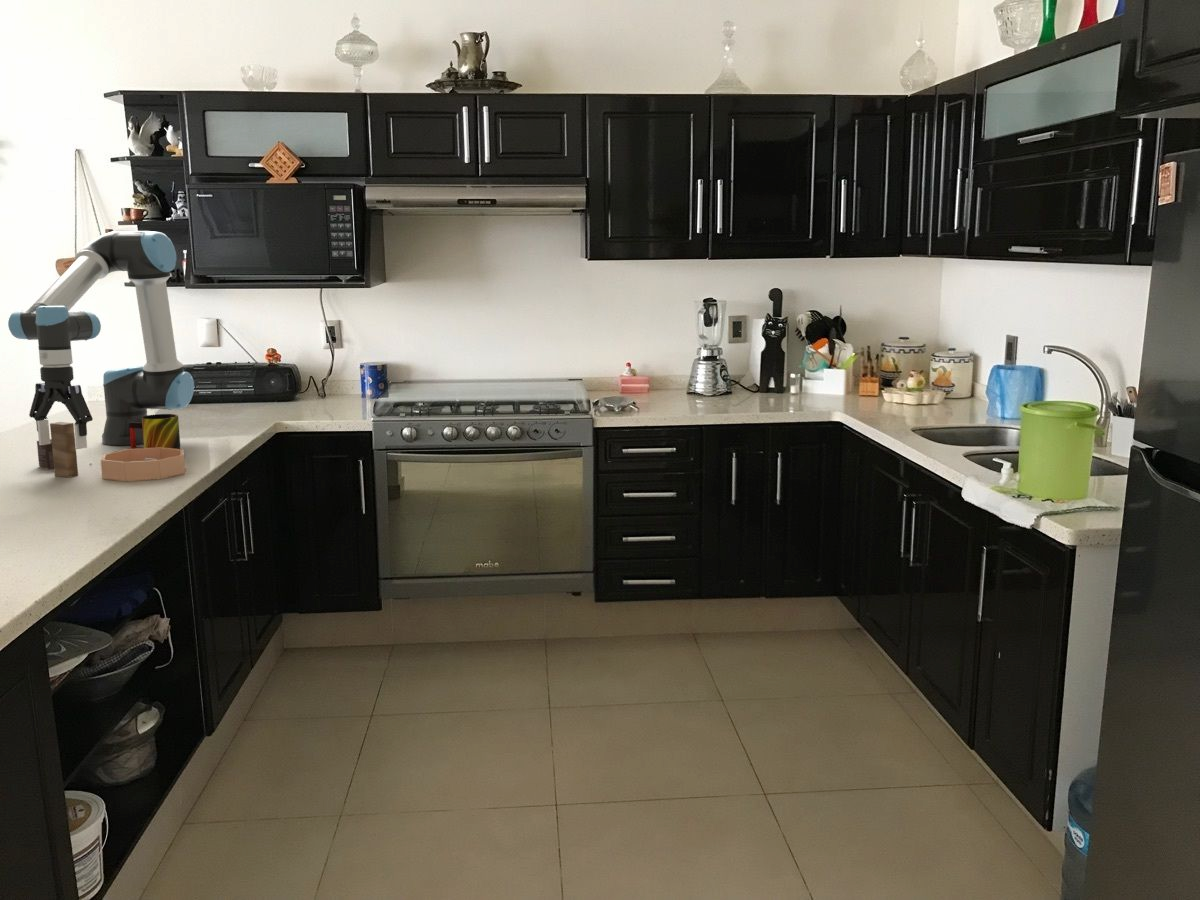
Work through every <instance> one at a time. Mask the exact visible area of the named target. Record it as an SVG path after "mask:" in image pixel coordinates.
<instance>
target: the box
mask: <svg viewBox="0 0 1200 900" xmlns="http://www.w3.org/2000/svg"><path fill="white" fill-rule="evenodd" d="M36 447H37V458H38V467H40V468H43V469H47V470H52V469H53V470H54V461H53V451H52V440H51V438H50V444H46V445H39V440H36Z"/></svg>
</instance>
